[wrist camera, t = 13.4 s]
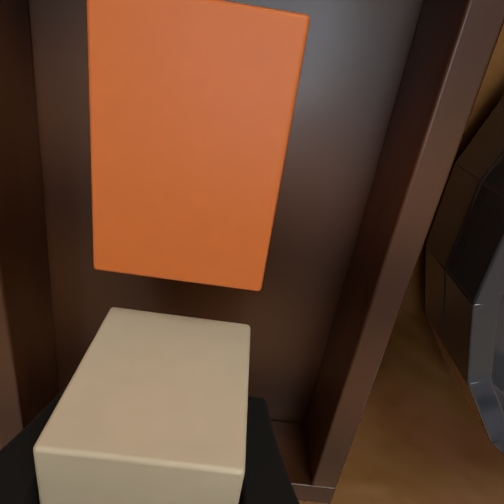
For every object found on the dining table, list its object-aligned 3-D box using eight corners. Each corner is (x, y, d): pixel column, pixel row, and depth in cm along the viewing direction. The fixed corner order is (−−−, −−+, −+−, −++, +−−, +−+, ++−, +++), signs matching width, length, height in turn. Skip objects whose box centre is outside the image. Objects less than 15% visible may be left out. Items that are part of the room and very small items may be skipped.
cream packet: (227, 460, 13) (213, 626, 9) (111, 446, 13) (51, 610, 9) (251, 323, 10) (245, 472, 7) (110, 305, 10) (29, 448, 7)
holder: (319, 427, 17) (330, 504, 14) (46, 395, 16) (2, 467, 14) (463, -47, 10) (542, -79, 7) (-5, -128, 9) (-117, -197, 7)
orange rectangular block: (261, 218, 12) (260, 293, 9) (142, 201, 12) (92, 270, 9) (293, 21, 10) (311, 14, 6) (148, -2, 10) (83, -24, 6)
